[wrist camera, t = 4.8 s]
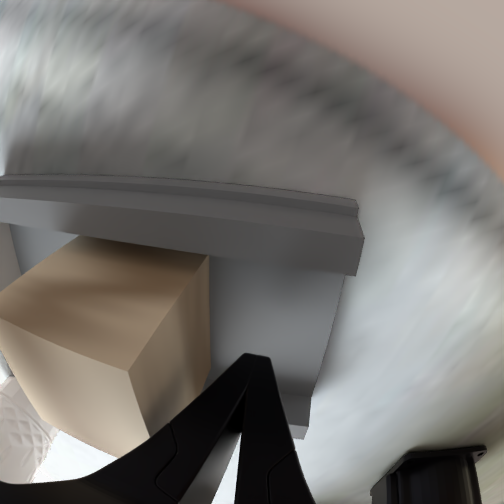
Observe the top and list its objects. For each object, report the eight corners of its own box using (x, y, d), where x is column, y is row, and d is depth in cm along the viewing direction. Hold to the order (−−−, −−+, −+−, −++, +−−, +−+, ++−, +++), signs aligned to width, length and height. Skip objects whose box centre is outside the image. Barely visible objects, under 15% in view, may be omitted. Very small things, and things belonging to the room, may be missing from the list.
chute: (355, 199, 9) (373, 246, 6) (306, 400, 13) (299, 462, 10) (3, 175, 11) (-50, 198, 8) (41, 328, 15) (7, 362, 12)
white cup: (44, 425, 24) (0, 489, 15) (-4, 369, 21) (-58, 433, 12) (83, 435, 21) (34, 516, 12) (24, 369, 18) (-43, 453, 10)
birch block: (209, 253, 10) (127, 371, 5) (211, 367, 12) (165, 475, 7) (81, 233, 10) (-19, 307, 6) (104, 338, 12) (41, 419, 8)
